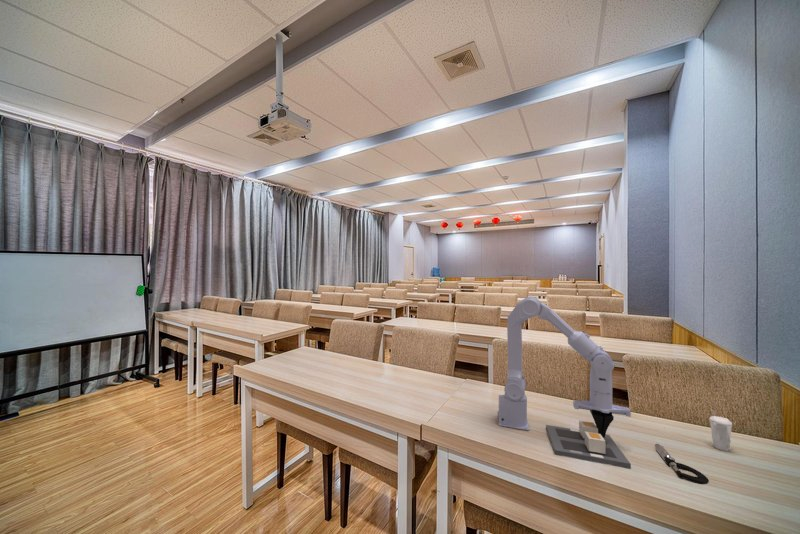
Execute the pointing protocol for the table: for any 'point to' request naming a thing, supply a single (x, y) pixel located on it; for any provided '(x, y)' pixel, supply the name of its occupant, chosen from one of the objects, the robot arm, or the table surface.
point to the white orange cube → (595, 442)
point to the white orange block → (587, 428)
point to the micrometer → (671, 463)
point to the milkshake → (720, 432)
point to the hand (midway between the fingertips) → (601, 435)
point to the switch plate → (584, 447)
